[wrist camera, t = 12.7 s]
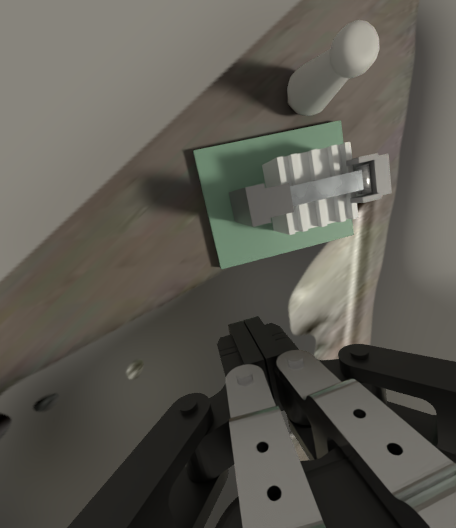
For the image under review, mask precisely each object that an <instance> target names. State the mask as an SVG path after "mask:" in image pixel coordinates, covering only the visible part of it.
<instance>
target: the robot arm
mask: <svg viewBox="0 0 456 528" xmlns="http://www.w3.org/2000/svg"><path fill="white" fill-rule="evenodd" d="M228 329H229V333H230V335H228V336H225V337H221V338H220V339H219V341H218V344H217V346H218V349H219V354H220V358H221V361H222V365H223V369H224V373H225V377H226V384H225V385H224V387H223V389H222V390H221V391H220V392H219V393H217V394H216V395H214V396H213V397H211V398H208V397H207V396H205V395H204V394H201V393H192V394H188V395H185V396H183V397H181V398H180V399H178V400H177V401H176V402H175V403H174V404H173V405H172V406H171V407H170V408H169V409H168V411H167V412H166V413H165V414H164V416H163V417H162V418H161V419H160V420H159V421H158V422H157V424H156V425H155V426H154V427H153V428H152V429H151V431H150V432H149V433H148V434H147V435H146V436H145V438H144V439H143V440H142V441H141V442H140V443H139V444H138V446H137V447H136V448H135V449H134V450H133V452H132V453H131V454H130V455H129V456H128V457H127V459H126V460H125V461H124V462H123V463H122V464H121V465H120V467H119V468H118V469H117V470H116V471H115V472H114V474H113V475H112V476H111V477H110V478H109V479H108V481H107V482H106V483H105V484H104V485H103V487H102V488H101V489H100V490H99V491H98V492H97V494H96V495H95V496H94V497H93V498H92V499H91V501H90V502H89V503H88V504H87V505H86V506H85V508H84V509H83V510H82V511H81V512H80V513H79V515H78V516H77V517H76V518H75V519H74V520H73V522H72V523H71V524H70V525H69V526H68V528H204V526H205V524H206V522H207V519H208V518H209V516H210V513H211V511H212V509H213V507H214V505H215V503H216V501H217V499H218V497H219V495H220V493H221V491H222V488H223V487H224V485H225V482H226V480H227V478H228V468H230V467H231V466H232V465H234V464H235V472H236V480H237V487H238V494H239V496H238V497H237V498H236V499H235V500H234V501H233V502H232V503H231V504H230V505H229V506H228V508H227V509H226V510H225V512H224V513H223V515H222V516H221V518H220V520H219V522H218V523H217V525H216V527H215V528H456V362H454V361H448V360H443V359H438V358H433V357H427V356H422V355H417V354H412V353H406V352H401V351H396V350H391V349H385V348H380V347H375V346H370V345H364V344H352V345H348V346H345V347H343V348H342V349H341V350H340V351H339V353H338V356H339V359H335V360H318V359H316V358H315V357H314V356H313V355H312V354H311V353H309V352H307V351H303V350H299V349H298V348H297V347H296V346H295V344H294V343H293V342H292V341H291V339H290V338H289V337H288V336H287V335H286V333H284V331H283V330H282V329H281V328H280V326H278V325H275V324H273V323H269V324H266V325H264V324H263V322H262V321H261V320H260V318H259V317H258V316H257V317H254V318H250V319H246V320H244V321H239V322H236V323H233V324H229V325H228ZM386 389H389V390H393V391H396V392H399V393H403V394H407V395H410V396H414V397H418V398H421V399H424V400H426V401H427V402H429V403H430V404H431V405H433V407H434V408H435V410H436V413H437V415H430V414H427V413H424V412H421V411H417V410H414V409H411V408H407V407H404V406H401V405H398V404H394V403H391V402H388V401H387V399H386ZM283 410H285V412H286V414H287V418H288V423H289V427H290V429H291V431H292V432H293V434H294V436H295V437H296V439H297V441H298V442H299V444H300V446H301V447H302V449H303V451H304V452H305V454H306V455H307V457H308V459H309V460H308V461H300V460H299V457H298V455H297V452H296V450H295V447H294V444H293V442H292V439H291V437H290V434H289V431H288V429H287V426H286V424H285V421H284V418H283V416H282V413H281V411H283Z"/></svg>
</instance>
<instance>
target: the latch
mask: <svg viewBox="0 0 456 528" xmlns="http://www.w3.org/2000/svg"><path fill="white" fill-rule="evenodd" d="M229 196H230V201H231V206H232V210H233V215H234V220H235V222H237V223H240V224H244V225H248V226H251V227H255V226H259V225H263V224H267V223H271V217H276V216H280V215H284V214H288V213H292V212H294V209H293V203H292V196H291V190H290V184H289V183H286V184H282V185H277V186H273V187H269V188H265V185H264V183H263V184H259V185H254V186H250V187H245V188H242V189H239V190H235V191H232V192H229Z"/></svg>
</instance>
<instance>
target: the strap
mask: <svg viewBox="0 0 456 528" xmlns="http://www.w3.org/2000/svg"><path fill="white" fill-rule="evenodd" d="M290 190H291V196H292V203H293V206H296V205H301V204H305V203H309V202H313V201H317V200H322V199H326V198H330V197H334V196H338V195H343V194H347V193H351V192H355V191H358V194H366V193H370V192H372V189H371V179H370V168H369V164H365V165H361V166H356V171H354V172H350V173H346V174H341V175H337V176H332V177H328V178H324V179H319V180H315V181H311V182H306V183H302V184H298V185H293V186H290Z"/></svg>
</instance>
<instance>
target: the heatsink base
mask: <svg viewBox="0 0 456 528" xmlns="http://www.w3.org/2000/svg"><path fill="white" fill-rule="evenodd" d="M193 154H194V158H195V163H196V167H197V171H198V175H199V180H200V184H201V188H202V192H203V197H204V201H205V205H206V209H207V214H208V218H209V222H210V226H211V231H212V235H213V239H214V243H215V248H216V252H217V256H218V260H219V265H220V268H221V269H224V268H228V267H232V266H236V265H240V264H244V263H247V262H251V261H255V260H259V259H263V258H267V257H270V256H274V255H278V254H282V253H286V252H290V251H294V250H298V249H301V248H305V247H309V246H313V245H317V244H321V243H324V242H328V241H332V240H336V239H340V238H344V237H348V236H352V235H354V233H353V224H352V219H356V218H358V209H357V203H365V202H369V201H373V200H377V199H381V198H382V195H385V194H389V193H391V180H390V167H389V154H384V155H380V156H378V153H376V154H371V155H367V156H362V157H358V158H355V159H352V153H351V144H350V142H346V143H343V135H342V126H341V120H340V121H335V122H330V123H326V124H321V125H316V126H311V127H306V128H301V129H296V130H291V131H286V132H282V133H277V134H272V135H267V136H262V137H257V138H252V139H247V140H242V141H238V142H233V143H228V144H223V145H218V146H213V147H208V148H203V149H198V150H194V151H193ZM365 164H369V168H370V179H371V189H372V192H370V193H366V194H358V191H355V192H351V193H347V194H343V195H338V196H334V197H330V198H326V199H322V200H317V201H313V202H309V203H305V204H301V205H296V206H293V209H294V212H292V213H288V214H284V215H280V216H276V217H271V223H267V224H263V225H259V226H255V227H251V226H248V225H244V224H240V223H237V222H235V220H234V215H233V210H232V206H231V201H230V196H229V192H232V191H235V190H239V189H242V188H245V187H250V186H254V185H259V184H263V183H264V185H265V188H269V187H273V186H277V185H282V184H286V183H289V184H290V186H293V185H298V184H302V183H306V182H311V181H315V180H319V179H324V178H328V177H332V176H337V175H341V174H346V173H350V172H354V171H356V166H361V165H365Z"/></svg>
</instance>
